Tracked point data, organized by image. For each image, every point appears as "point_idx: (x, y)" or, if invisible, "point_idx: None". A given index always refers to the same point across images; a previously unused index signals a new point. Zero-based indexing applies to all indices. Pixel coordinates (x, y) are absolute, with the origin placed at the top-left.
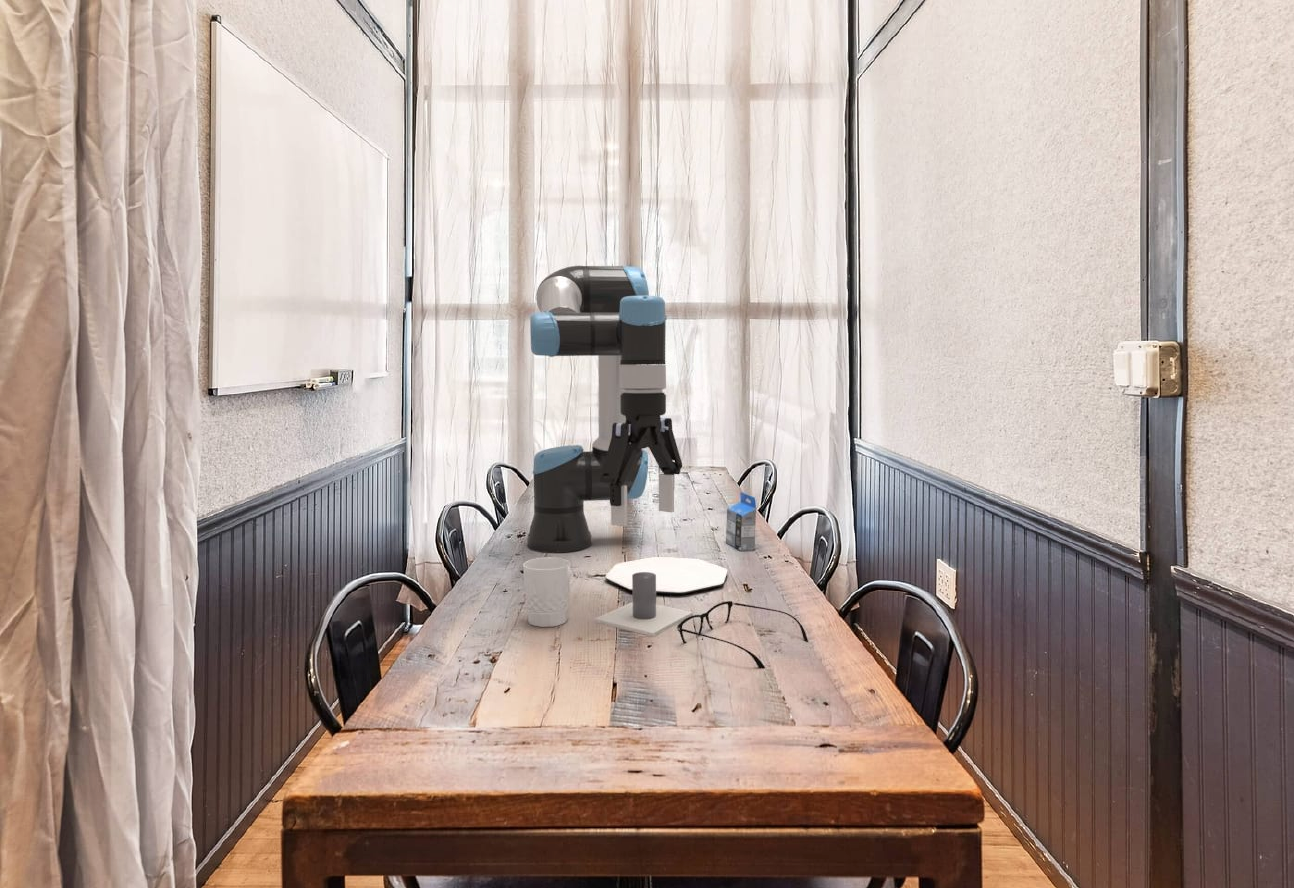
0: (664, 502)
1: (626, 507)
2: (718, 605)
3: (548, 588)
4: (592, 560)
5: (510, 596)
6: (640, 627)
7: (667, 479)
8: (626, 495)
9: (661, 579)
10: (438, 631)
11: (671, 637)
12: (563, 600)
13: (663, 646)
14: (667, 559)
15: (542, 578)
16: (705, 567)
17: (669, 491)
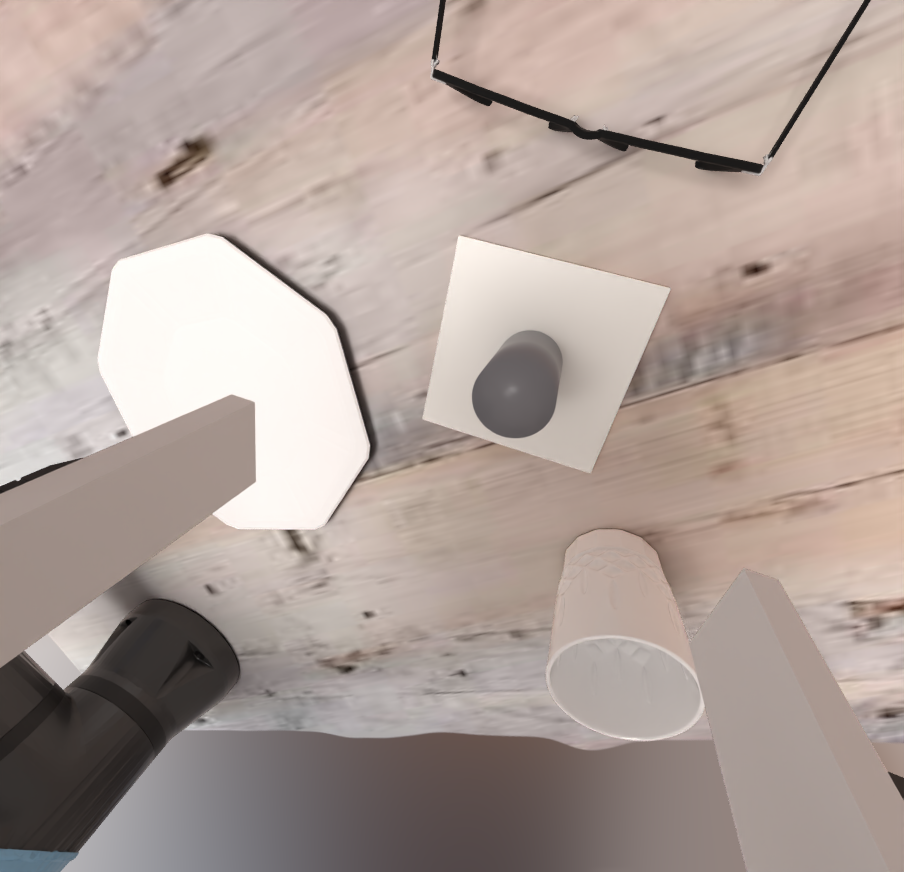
0: (211, 475)
1: (819, 695)
2: (507, 97)
3: (683, 627)
4: (224, 576)
5: (487, 660)
6: (630, 340)
7: (21, 562)
8: (892, 840)
9: None
10: None
11: (663, 229)
12: (638, 568)
13: (751, 224)
14: None
15: None
16: (132, 329)
17: (133, 480)
